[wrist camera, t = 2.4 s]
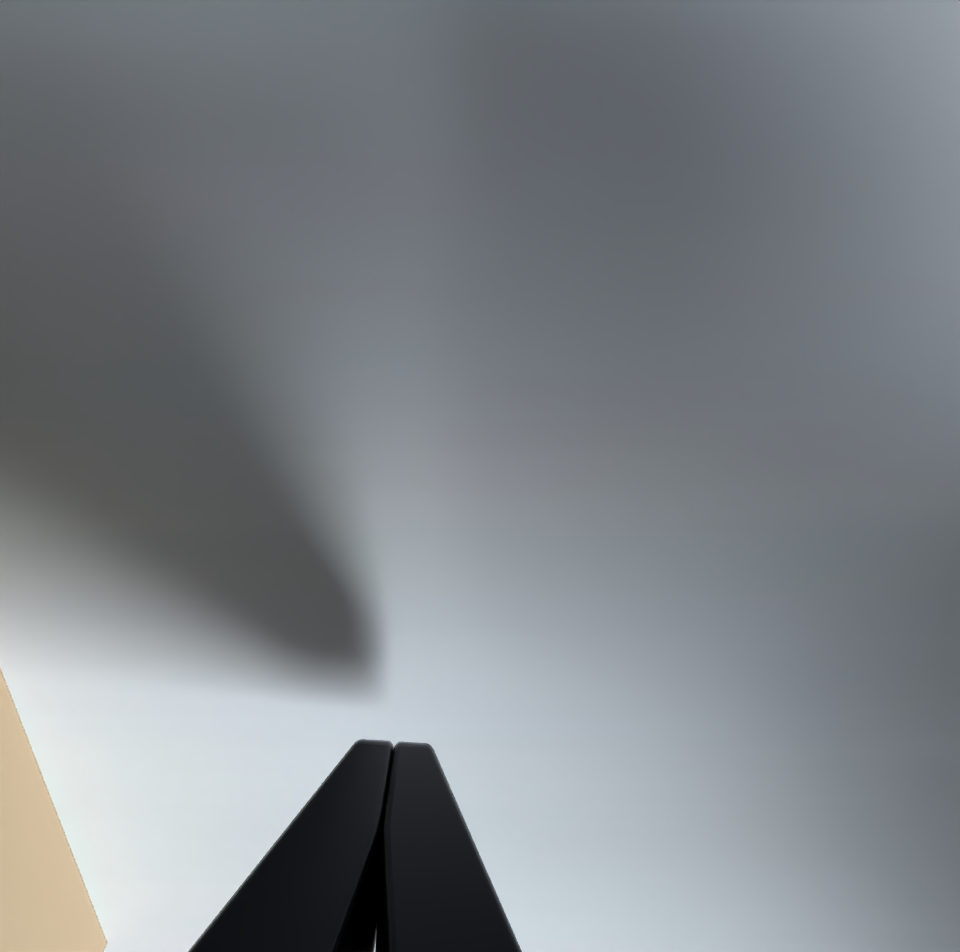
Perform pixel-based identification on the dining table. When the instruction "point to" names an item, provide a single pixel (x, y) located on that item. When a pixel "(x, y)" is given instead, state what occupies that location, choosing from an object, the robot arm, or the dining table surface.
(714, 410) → the dining table surface
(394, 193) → the dining table surface
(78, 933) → the carton
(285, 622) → the dining table surface
